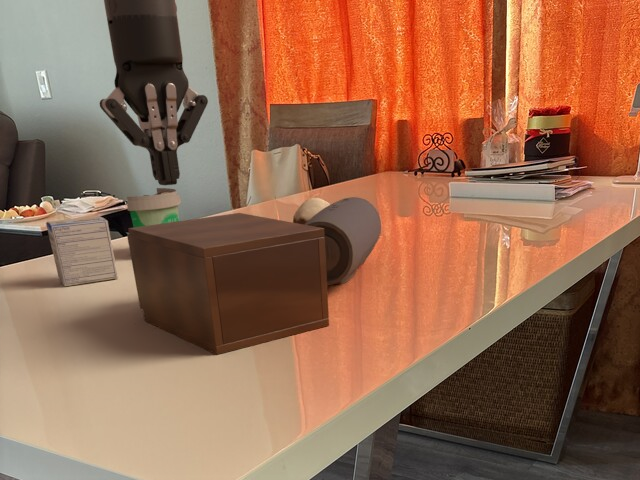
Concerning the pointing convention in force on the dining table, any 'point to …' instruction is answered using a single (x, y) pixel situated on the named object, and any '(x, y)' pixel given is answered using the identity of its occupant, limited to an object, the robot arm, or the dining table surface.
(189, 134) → the robot arm
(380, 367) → the dining table surface
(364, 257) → the bluetooth speaker
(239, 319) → the cabinet
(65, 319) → the dining table surface
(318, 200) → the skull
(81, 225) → the medicine box
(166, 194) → the food container
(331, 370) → the dining table surface
